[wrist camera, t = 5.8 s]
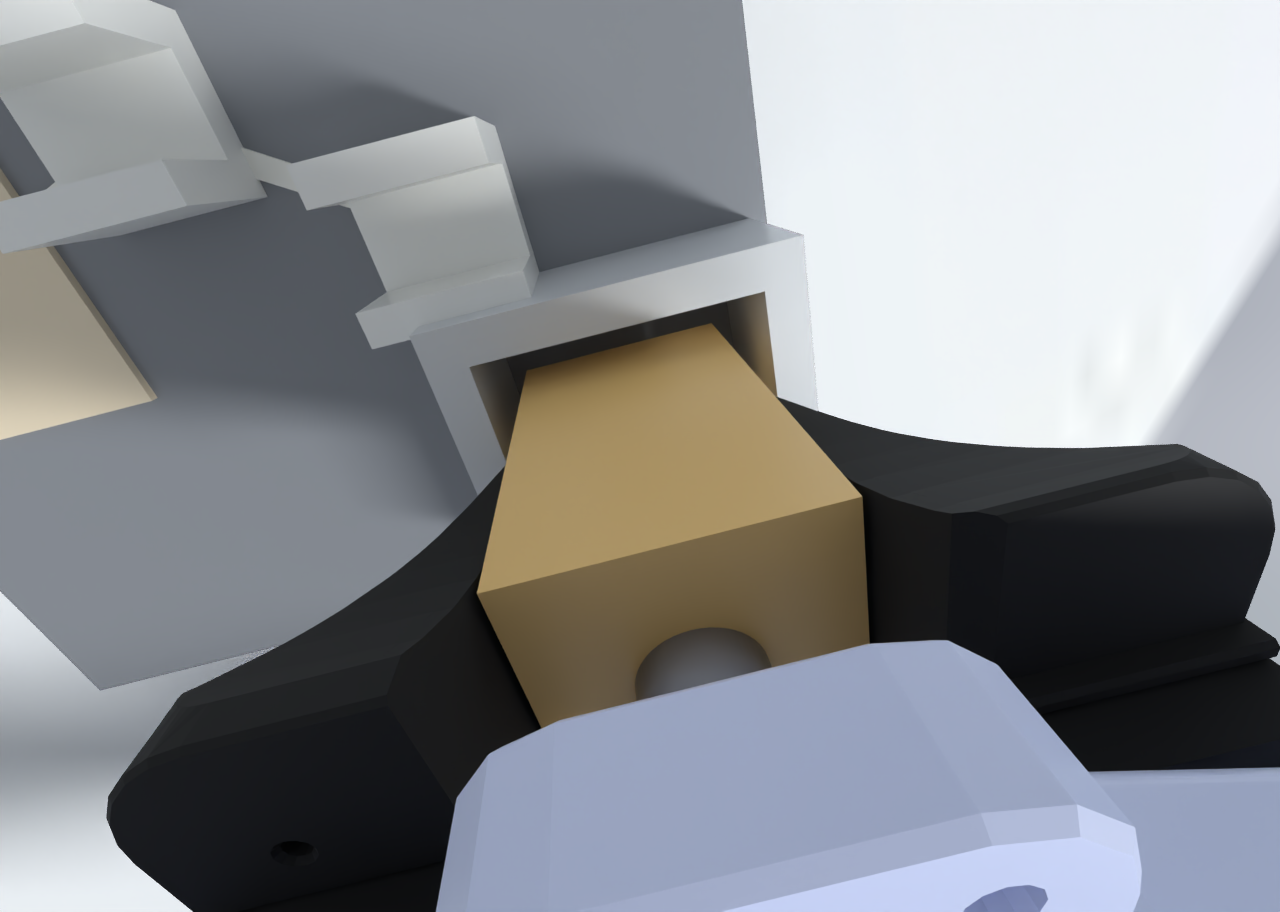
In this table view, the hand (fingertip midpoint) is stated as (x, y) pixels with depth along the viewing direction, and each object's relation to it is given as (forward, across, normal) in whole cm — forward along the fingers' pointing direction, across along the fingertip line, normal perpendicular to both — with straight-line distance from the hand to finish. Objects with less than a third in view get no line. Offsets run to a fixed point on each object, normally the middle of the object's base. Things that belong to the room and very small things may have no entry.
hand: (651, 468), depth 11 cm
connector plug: (+2, 0, 0) cm, 2 cm away
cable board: (+5, +7, -3) cm, 9 cm away
